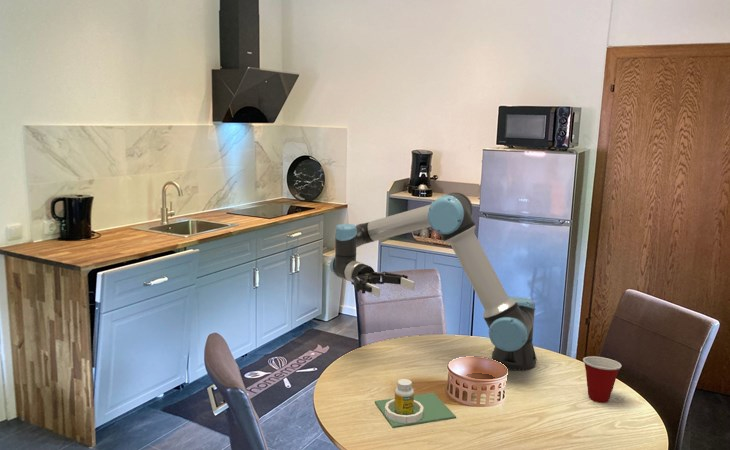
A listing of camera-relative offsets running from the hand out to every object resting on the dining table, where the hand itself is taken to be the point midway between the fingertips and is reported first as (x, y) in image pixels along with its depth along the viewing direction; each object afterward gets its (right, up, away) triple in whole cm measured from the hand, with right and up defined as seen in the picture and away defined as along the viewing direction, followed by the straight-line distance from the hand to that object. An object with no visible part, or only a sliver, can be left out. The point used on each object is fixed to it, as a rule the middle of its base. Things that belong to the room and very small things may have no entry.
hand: (396, 289), depth 180 cm
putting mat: (+4, -33, -15) cm, 37 cm away
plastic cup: (+61, -33, -5) cm, 70 cm away
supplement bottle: (+1, -33, -18) cm, 38 cm away
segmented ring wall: (+1, -34, -18) cm, 38 cm away
